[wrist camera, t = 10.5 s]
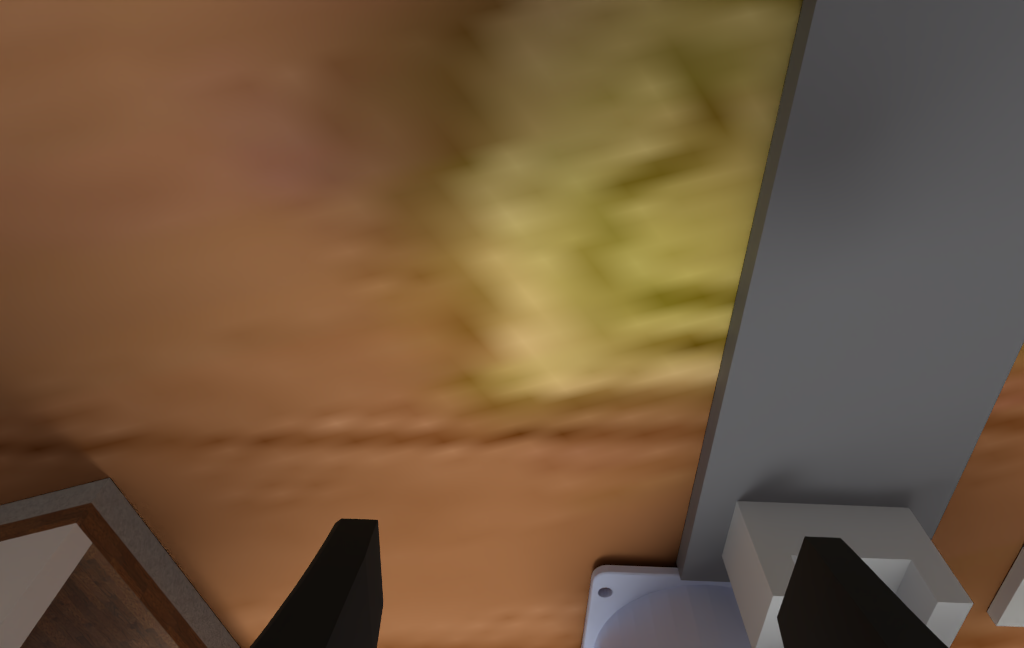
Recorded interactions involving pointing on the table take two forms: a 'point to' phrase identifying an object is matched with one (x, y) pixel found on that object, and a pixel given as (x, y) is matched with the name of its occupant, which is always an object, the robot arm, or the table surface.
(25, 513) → the display case
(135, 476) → the table surface
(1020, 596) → the mat
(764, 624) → the rack
